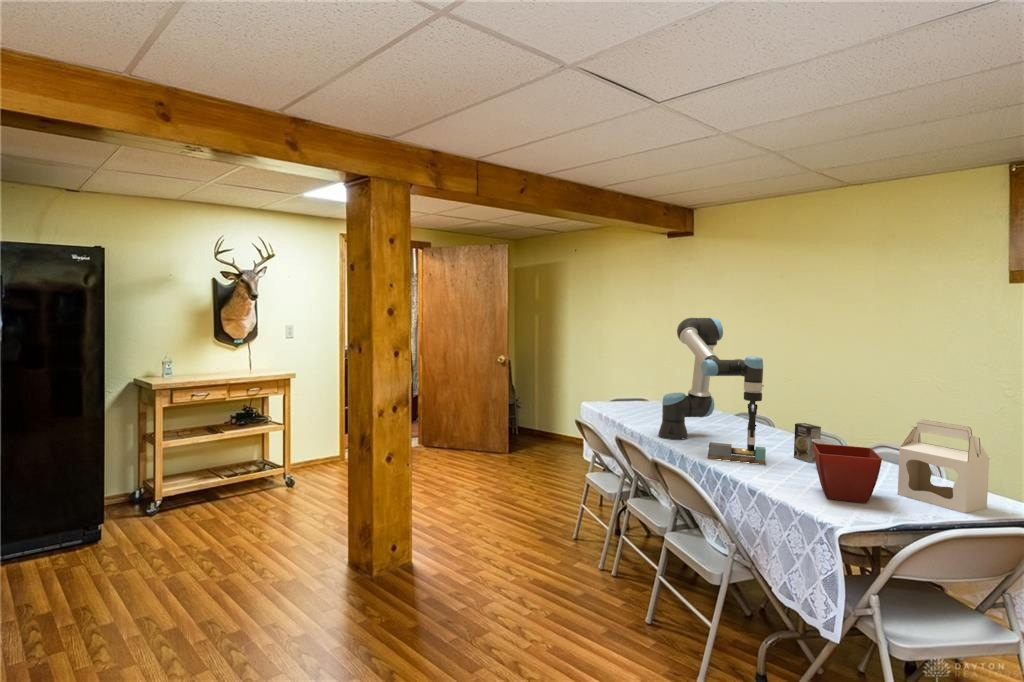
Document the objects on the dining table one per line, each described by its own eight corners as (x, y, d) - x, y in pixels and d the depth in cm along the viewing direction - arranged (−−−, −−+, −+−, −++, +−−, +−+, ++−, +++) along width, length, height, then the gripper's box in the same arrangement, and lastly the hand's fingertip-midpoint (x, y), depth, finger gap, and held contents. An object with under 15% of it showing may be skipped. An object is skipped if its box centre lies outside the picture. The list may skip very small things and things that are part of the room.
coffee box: (792, 457, 259) (794, 423, 258) (803, 457, 261) (805, 422, 260) (808, 462, 250) (810, 427, 250) (820, 461, 252) (821, 426, 252)
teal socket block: (755, 459, 249) (755, 448, 248) (755, 457, 253) (755, 446, 253) (765, 460, 247) (765, 449, 247) (764, 458, 252) (765, 447, 251)
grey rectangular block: (708, 455, 256) (709, 444, 256) (709, 452, 261) (709, 442, 260) (731, 457, 252) (731, 446, 252) (731, 455, 257) (731, 444, 257)
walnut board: (707, 458, 255) (707, 455, 255) (708, 455, 262) (708, 452, 262) (765, 464, 246) (765, 461, 246) (764, 461, 253) (764, 457, 253)
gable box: (896, 494, 207) (899, 418, 206) (917, 490, 212) (921, 416, 211) (966, 513, 187) (970, 430, 185) (988, 508, 192) (992, 427, 191)
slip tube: (728, 454, 254) (729, 422, 253) (729, 453, 256) (730, 421, 256) (762, 457, 248) (763, 425, 248) (762, 456, 251) (763, 424, 250)
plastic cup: (844, 472, 235) (845, 444, 235) (818, 472, 235) (819, 443, 235) (830, 465, 246) (831, 438, 245) (805, 465, 246) (806, 438, 246)
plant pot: (811, 485, 216) (812, 442, 215) (869, 492, 209) (871, 447, 208) (817, 500, 198) (818, 453, 198) (880, 508, 191) (882, 459, 190)
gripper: (762, 394, 240) (761, 448, 241) (761, 389, 258) (759, 439, 259) (743, 393, 242) (742, 446, 243) (743, 388, 261) (742, 437, 262)
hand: (751, 442), depth 251 cm, fingers open, 7 cm apart
